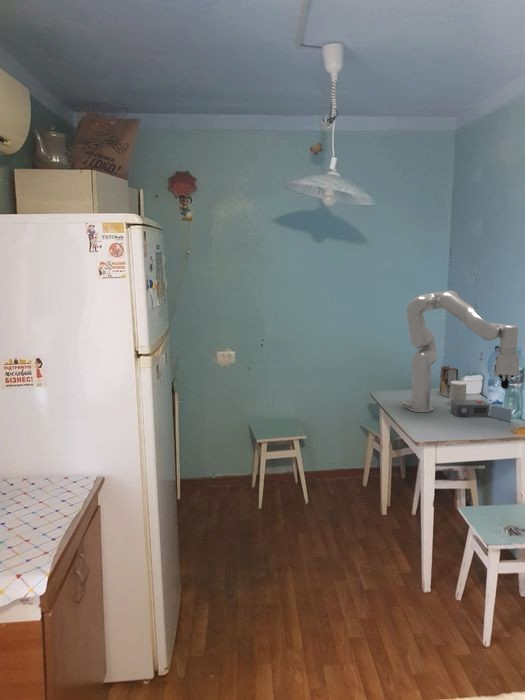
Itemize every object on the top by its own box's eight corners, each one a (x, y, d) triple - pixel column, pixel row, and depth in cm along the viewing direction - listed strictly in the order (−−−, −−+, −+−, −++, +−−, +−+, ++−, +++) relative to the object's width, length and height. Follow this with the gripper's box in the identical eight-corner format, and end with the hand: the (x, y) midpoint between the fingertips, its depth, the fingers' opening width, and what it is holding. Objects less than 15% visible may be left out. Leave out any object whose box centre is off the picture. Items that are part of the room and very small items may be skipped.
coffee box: (457, 396, 299) (458, 369, 296) (446, 397, 297) (448, 369, 294) (448, 392, 307) (450, 365, 304) (438, 393, 306) (440, 366, 303)
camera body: (456, 417, 263) (457, 404, 261) (450, 410, 273) (451, 398, 272) (489, 417, 262) (490, 404, 260) (482, 411, 272) (483, 398, 271)
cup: (450, 405, 282) (451, 384, 280) (448, 401, 290) (449, 380, 287) (466, 406, 280) (467, 384, 278) (464, 402, 288) (465, 381, 285)
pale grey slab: (511, 421, 255) (512, 408, 254) (509, 421, 254) (510, 409, 253) (490, 416, 263) (491, 404, 262) (489, 416, 262) (489, 404, 261)
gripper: (494, 352, 245) (491, 390, 249) (527, 352, 244) (523, 390, 248) (488, 349, 253) (485, 386, 256) (520, 349, 252) (517, 386, 255)
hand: (504, 388), depth 252 cm, fingers closed
